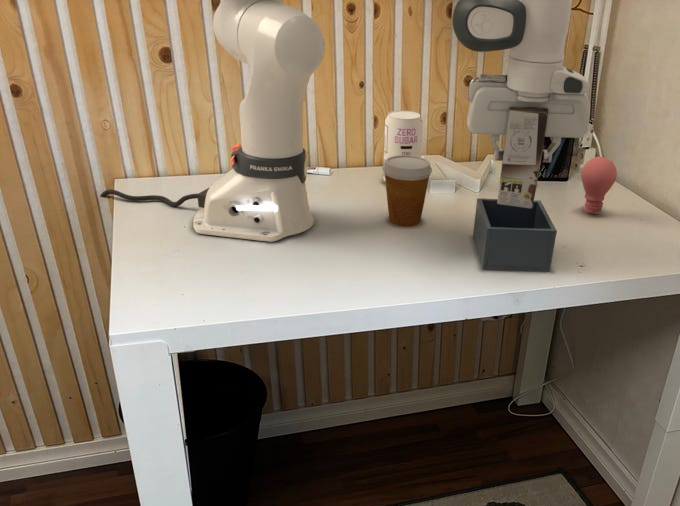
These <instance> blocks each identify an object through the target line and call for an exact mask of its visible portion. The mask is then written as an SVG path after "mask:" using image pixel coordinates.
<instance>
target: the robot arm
mask: <svg viewBox="0 0 680 506" xmlns="http://www.w3.org/2000/svg"><path fill="white" fill-rule="evenodd" d="M572 3H573V0H457V3H456V4H455V7H454V9H453V13H452V22H451V23H452V29H453V32H454V35H455V37H456V38H457V40H458V42H459V43H460V44H461V45H462V46H463V47H465V48H466V49H468V50H470V51H473V52H477V53H489V52H495V51H496V52H497V51H505V50H508V55H507V56H508V58H507V66H506V74H491V75H490V74H485V73H483V74H479V75H478V76H476V77H474V78H473V79H471V81H470V82H469V84H468V91H467V95H468V100H469V106H468V111H467V116H466V126H467V127H466V128H467V129H468V131H469V132H470V133H471V134H473V135H488V138H489V140H490V143H491V145H492V147H493V160H494V161H496V162H497V161H499V162H503V154H504V147H499V146H498V143H497V142H499V141H500V136H506V131H507V124H508V116H509V109H510V107H520V108H525V107H538V108H547V109H548V117H547V125H546V131H545V138H550V141H551V143H550V144H549V145H548V147H547V148H546V149H543V151H542V158H541V162H542V163H545V164H547V163H548V164H549V163H552V161H553V160H552V159H553V154H554V153H555V152H556V150H557V149H558V148H559V146H560V145H561V144H562V143H561V142H562V138H566V139H567V138H568V139H571V138H572V139H582V138H584V137H585V136H586V134H587V133H588V132H589V126H590V116H591V103H590V99H589V98H588V96H587V95H586V94H587V93H588V92H589V89H590V82H589V80H588V79H587V78H586V77H585V76H584V75H582V74H581V73H579V72H578V71H575V70H572V69H571V68H569V67H566V66H564V60H565V51H564V45H565V39H566V37H567V35H568V32H569V28H570V22H571V13H572V5H573V4H572ZM212 27H213V28H212V29H213V34H214V36H215V39H216V40H217V42H218V44H219V45H220V46H221V47H222V48H223V49H224V51H226V53H228V55H230V56H231V57H232V58H233V59H235V60H237V61H239V62H241V63H243V64H246V65H248V66H249V79H248V80H249V81H248V86H247V91H246V95H245V96H244V98H242V100H241V102H240V104H239V108H238V113H239V128H240V138H241V139H240V140H241V142H240V143H236V144H234V145H233V147H232V149H231V154H230V160H231V162H230V163H231V167H232V168H231V169H230V170H229V171H227V172H226V173H225V174H224V175H222V176H221V177H219V178H218V179H217V180H216V181H214V182H213V183H212V184H211V185H210V186H209V187H208V188H205V189H204V190H202V191H200V192H198V193H191V194H186V195H184V196H182V197H181V198H179V199H178V200H176V201H172V200H171V199H169V198H168V197H165V196H163V195H157V194H150V195H130V194H126V193H124V192H121V191H119V190H115V189H113V188H112V189H111V188H110V189H106V190H104V191H102V192H101V193H100V195H99V197H100V198H106V197H107V196H108V195H114V196H117V197H119V198H122V199H124V200H127V201H133V202H144V201H145V202H146V201H159V202H160V201H161V202H164V203H165V204H167V205H168V206H170V207H173V208H175V207H180V206H181V205H182V204H184V203H185V202H187V201H190V200H196V199H197V205H198V208H200V209H198V211H197V212H196V213H195V215H194V217H193V221H192V222H193V223H192V224H193V227H192V228H193V230H194V231H195V232H196V233H197V234H199V235H207V236H216V237H224V238H235V239H242V240H251V241H253V240H254V241H260V242H269V243H270V242H271V243H272V242H277V241H280V240H282V239H284V238H286V237H289V236H295V235H298V234H301V233H304V232H306V231H307V230H310V229H311V227H312V226H313V225H314V223H315V222H314V221H315V220H314V218H313V215H312V211H311V208H310V203H309V199H308V193H307V185H306V180H307V177H308V167H307V166H308V165H307V163H308V162H307V154H306V150H305V148H304V133H303V132H304V131H303V130H304V123H303V122H304V119H303V118H304V116H303V115H304V114H303V113H304V103H305V98H306V94H307V93H306V92H307V88H308V86H309V81H310V80H311V77H312V75H313V74H314V73H315V72H316V71H317V69H319V67H320V65H321V64H322V62H323V59H324V57H325V56H324V55H325V51H326V42H325V36H324V33H323V31H322V28H321V27H320V25H319V24H318V23H317V22H316V21H315V20H314V19H313V18H311V17H310V16H309V15H308V14H306V13H305V12H303V11H302V10H301V9H299V8H298V7H295V6H291V5H287V4H284V3H283V0H220V2H219V5H218V6H217V8H216V10H215V12H214V15H213V20H212Z"/></svg>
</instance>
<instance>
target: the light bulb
mask: <svg viewBox="0 0 680 506" xmlns="http://www.w3.org/2000/svg"><path fill="white" fill-rule="evenodd" d="M580 175H581V176H580V179H581V184H582V186H583V189H584V193H585V194H584V199H585V204H584V205H585V207H584V211H585V212H587V213H589V214H591V215H592V214H600V213H601V212H602V209H603V206H604V200H605V196H606V195H607V193H608V192H609V191H610V190H611V188H612V187H613V186H614V184H615V182H616V180H617V175H618V172H617V167H616V165H615V163H614V162H613V161H612V160H611V159H609V158H608V157H605V156H594V157H592V158H590V159H589V160H588V161H586V163H585V164H584V165H583V167H582V170H581V173H580Z"/></svg>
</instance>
